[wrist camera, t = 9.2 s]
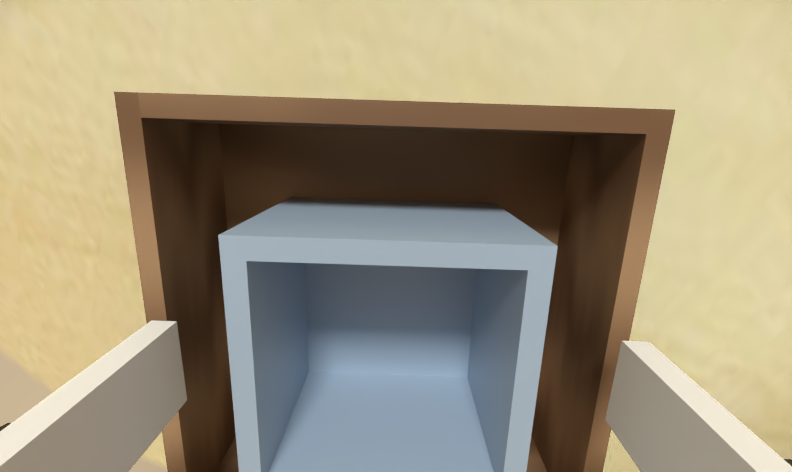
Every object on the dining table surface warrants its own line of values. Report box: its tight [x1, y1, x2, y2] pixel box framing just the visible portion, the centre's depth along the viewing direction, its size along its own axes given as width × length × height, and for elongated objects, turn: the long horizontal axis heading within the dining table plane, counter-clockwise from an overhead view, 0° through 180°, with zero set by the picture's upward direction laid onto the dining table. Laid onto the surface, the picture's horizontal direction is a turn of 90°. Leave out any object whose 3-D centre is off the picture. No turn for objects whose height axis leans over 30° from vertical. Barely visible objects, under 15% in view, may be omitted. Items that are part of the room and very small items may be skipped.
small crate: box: [218, 197, 558, 472], centre depth 15 cm, size 9×9×7 cm
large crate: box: [114, 92, 675, 472], centre depth 16 cm, size 16×16×6 cm
